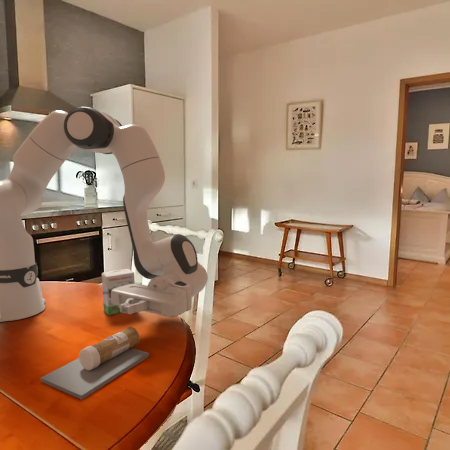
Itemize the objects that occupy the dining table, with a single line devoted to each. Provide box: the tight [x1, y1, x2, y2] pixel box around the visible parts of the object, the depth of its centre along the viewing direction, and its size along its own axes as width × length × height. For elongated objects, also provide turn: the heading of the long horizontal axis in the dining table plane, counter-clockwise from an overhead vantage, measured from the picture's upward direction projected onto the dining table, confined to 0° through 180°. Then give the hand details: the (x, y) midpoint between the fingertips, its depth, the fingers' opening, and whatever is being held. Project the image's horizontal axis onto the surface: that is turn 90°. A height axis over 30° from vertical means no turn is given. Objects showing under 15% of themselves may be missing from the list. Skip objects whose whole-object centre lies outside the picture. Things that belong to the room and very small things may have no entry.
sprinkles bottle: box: [78, 326, 140, 370], centre depth 80 cm, size 5×5×13 cm
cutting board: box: [40, 347, 150, 400], centre depth 77 cm, size 18×12×1 cm, turn 150°
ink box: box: [101, 268, 136, 316], centre depth 109 cm, size 8×5×12 cm, turn 123°
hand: (124, 309), depth 82 cm, fingers closed
